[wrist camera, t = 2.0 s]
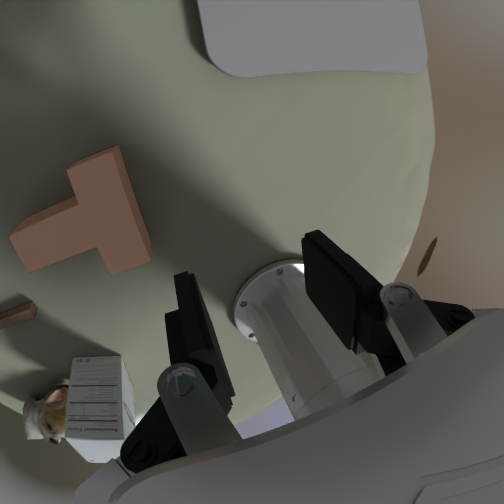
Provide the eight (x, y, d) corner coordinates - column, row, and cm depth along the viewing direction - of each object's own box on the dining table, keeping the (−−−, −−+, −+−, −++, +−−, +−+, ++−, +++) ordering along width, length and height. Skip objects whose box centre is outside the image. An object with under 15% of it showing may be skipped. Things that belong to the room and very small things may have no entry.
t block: (151, 241, 28) (151, 262, 24) (52, 276, 25) (42, 298, 22) (118, 144, 22) (112, 151, 19) (13, 192, 20) (-5, 206, 17)
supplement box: (133, 386, 36) (141, 463, 26) (87, 388, 34) (86, 463, 24) (122, 353, 33) (125, 440, 23) (71, 355, 31) (62, 439, 20)
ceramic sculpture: (2, 430, 23) (70, 419, 26) (9, 387, 30) (72, 368, 33) (47, 460, 29) (115, 450, 32) (48, 420, 36) (110, 405, 39)
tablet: (182, -55, 14) (185, -66, 12) (395, -33, 18) (407, -36, 16) (209, 85, 22) (213, 83, 21) (416, 75, 27) (429, 76, 25)
